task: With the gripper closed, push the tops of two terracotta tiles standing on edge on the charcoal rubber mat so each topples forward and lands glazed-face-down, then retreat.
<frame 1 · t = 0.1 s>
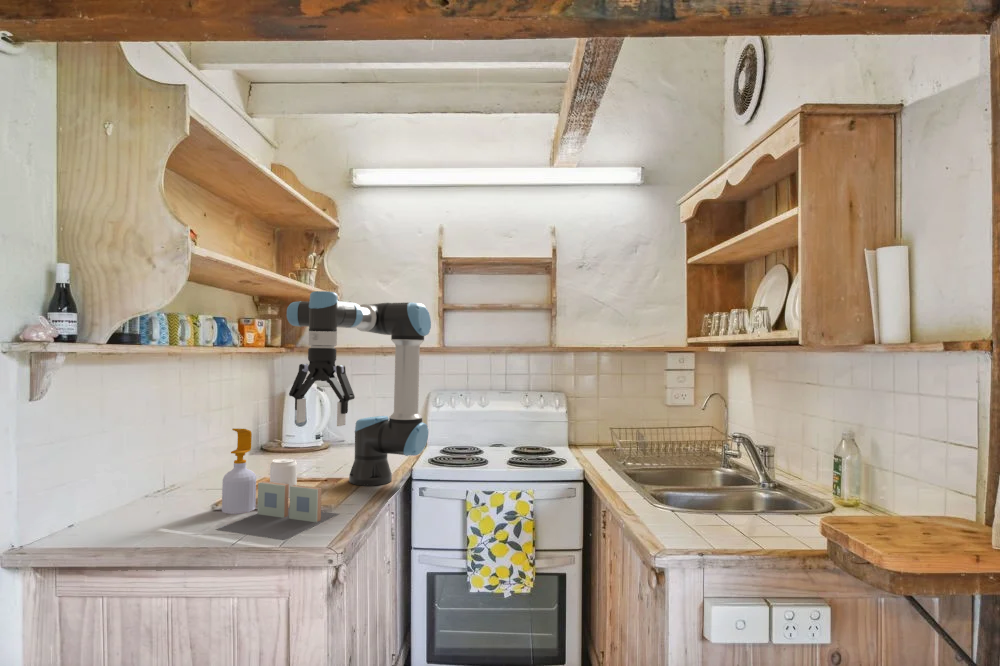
hand: (320, 424, 162), 28 cm above the counter, fingers open, 13 cm apart
tile b: (272, 514, 167), point 1 cm above the counter, touching mat
mat: (280, 523, 162), on the counter
beverage can: (283, 498, 188), on the counter
tile a: (304, 519, 164), point 1 cm above the counter, touching mat
soap bottle: (238, 511, 173), on the counter
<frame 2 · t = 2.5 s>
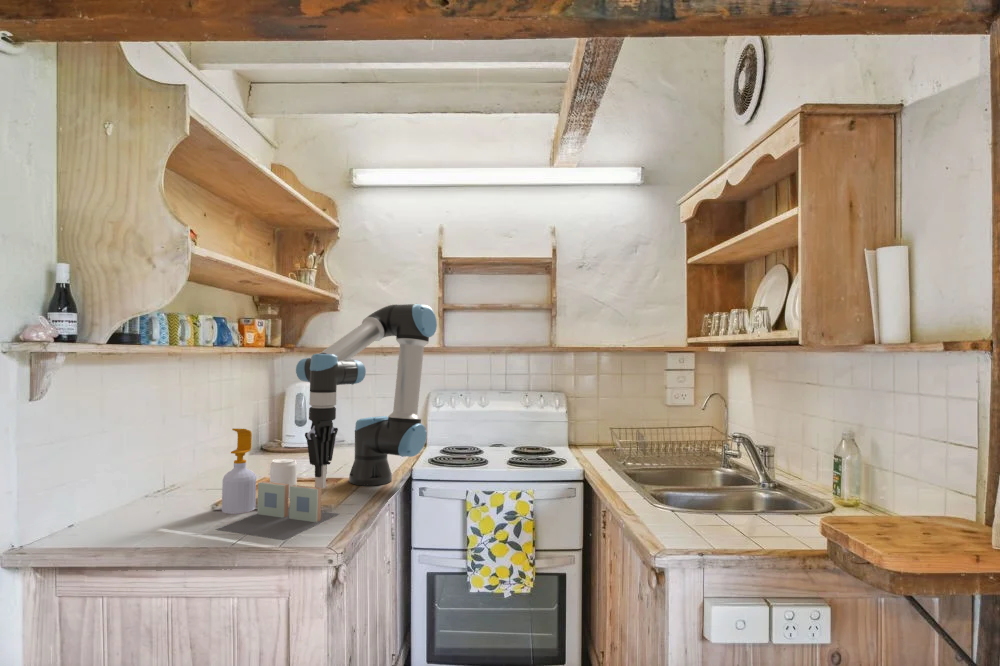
hand: (320, 487, 170), 8 cm above the counter, fingers closed
nothing on the counter moved.
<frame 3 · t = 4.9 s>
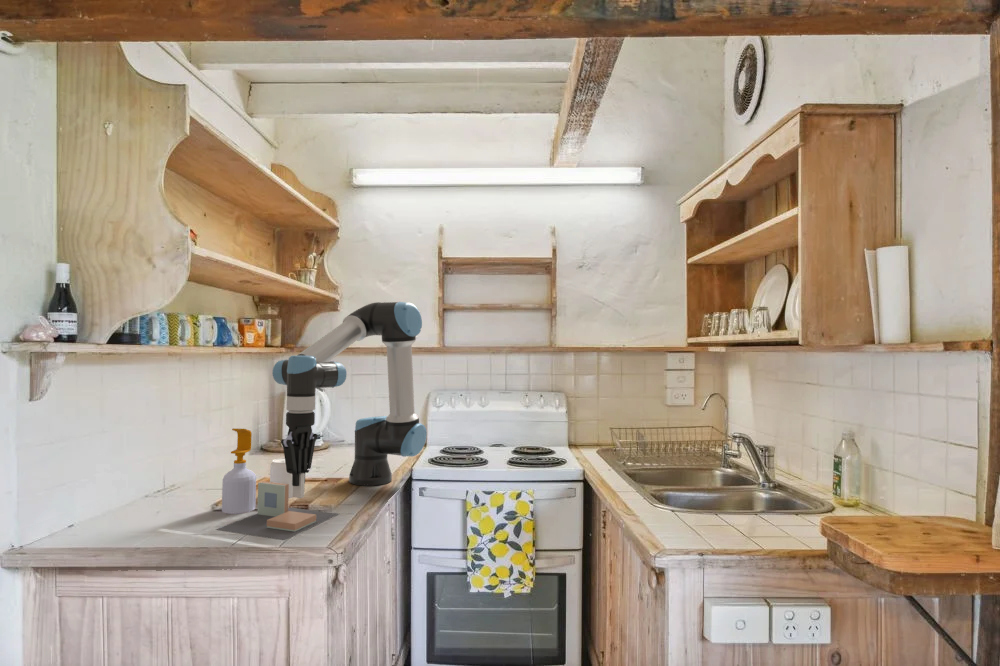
hand: (298, 496, 161), 8 cm above the counter, fingers closed
tile a: (302, 516, 163), point 2 cm above the counter, tilted 90°, touching mat
everything else where it was.
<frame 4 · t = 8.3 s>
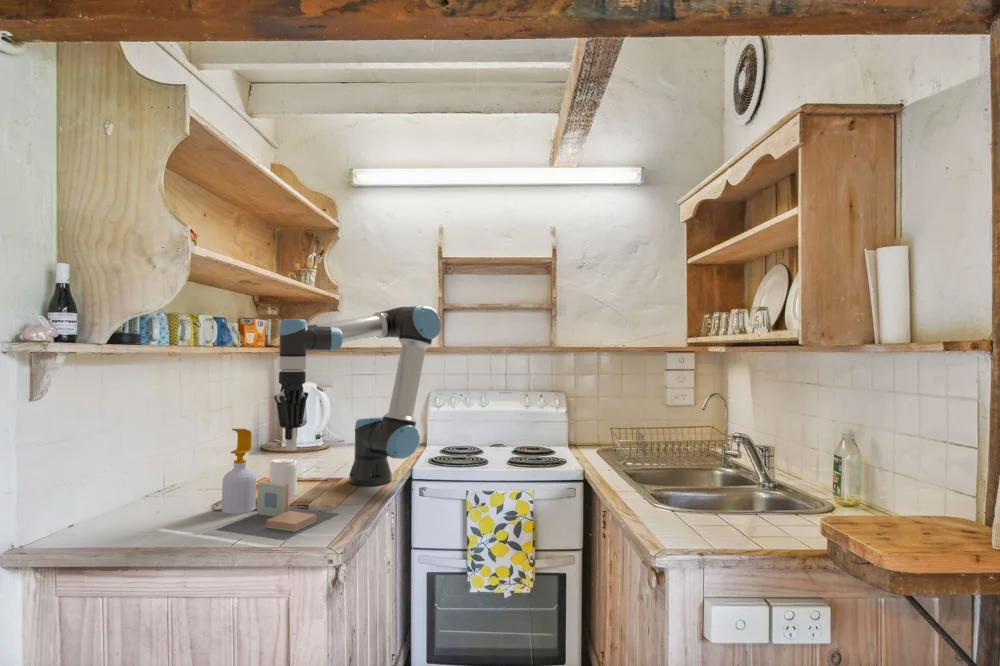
hand: (290, 449, 174), 18 cm above the counter, fingers closed
nothing on the counter moved.
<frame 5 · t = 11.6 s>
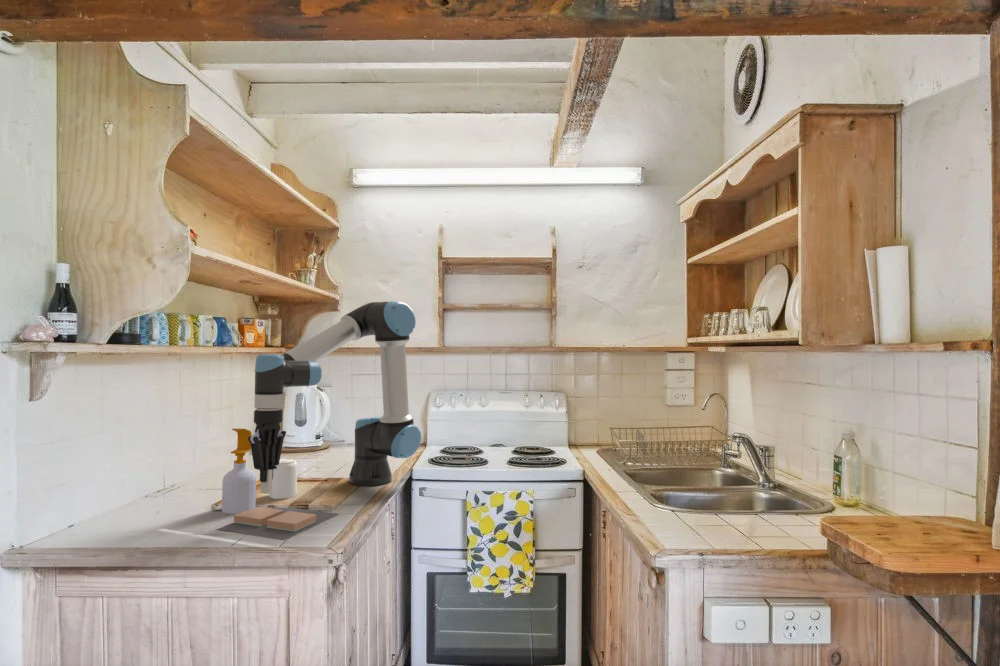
hand: (266, 492, 165), 8 cm above the counter, fingers closed
tile b: (270, 511, 166), point 2 cm above the counter, tilted 90°, touching mat
everything else where it was.
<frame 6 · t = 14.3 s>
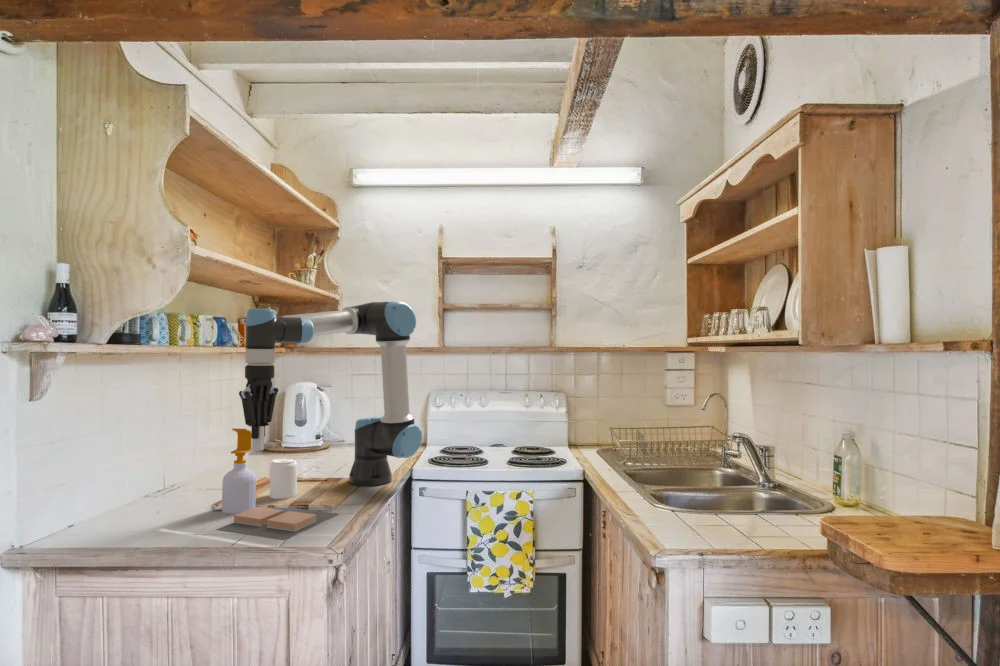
hand: (258, 449, 161), 20 cm above the counter, fingers closed
nothing on the counter moved.
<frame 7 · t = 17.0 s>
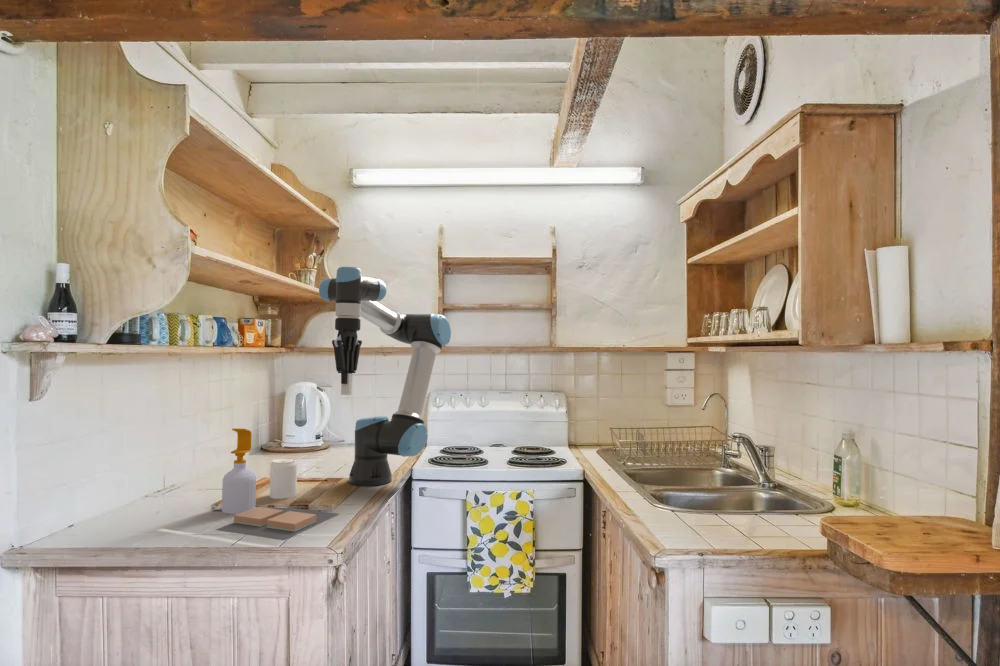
hand: (346, 394, 179), 34 cm above the counter, fingers closed
nothing on the counter moved.
at the end: tile a tilted 90°; tile b tilted 90°; tile a inside the target area (6.7 cm from its centre), point 1.7 cm above the counter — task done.
